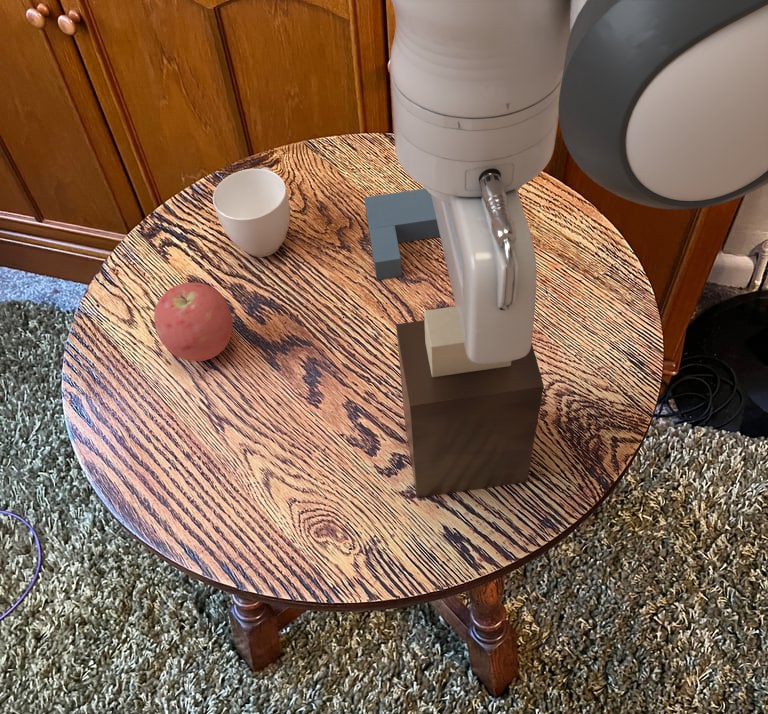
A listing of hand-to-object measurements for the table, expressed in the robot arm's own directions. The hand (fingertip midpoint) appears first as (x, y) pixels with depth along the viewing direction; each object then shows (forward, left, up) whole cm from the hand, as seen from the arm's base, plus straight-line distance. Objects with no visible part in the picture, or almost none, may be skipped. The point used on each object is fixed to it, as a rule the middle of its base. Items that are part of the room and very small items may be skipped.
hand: (467, 300), depth 54 cm
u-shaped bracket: (-1, -28, -20) cm, 34 cm away
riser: (0, 0, -20) cm, 20 cm away
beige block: (0, 0, -6) cm, 6 cm away
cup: (+17, -32, -20) cm, 41 cm away
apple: (+24, -17, -20) cm, 35 cm away
